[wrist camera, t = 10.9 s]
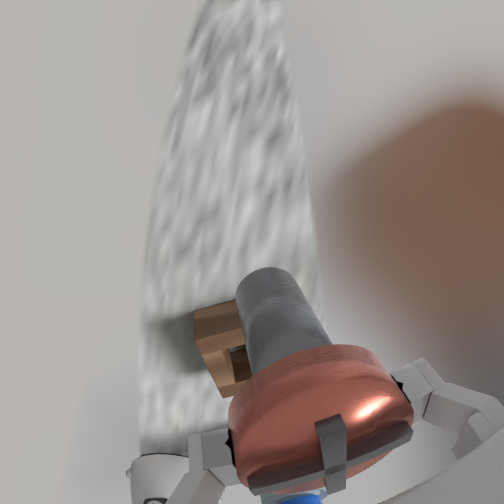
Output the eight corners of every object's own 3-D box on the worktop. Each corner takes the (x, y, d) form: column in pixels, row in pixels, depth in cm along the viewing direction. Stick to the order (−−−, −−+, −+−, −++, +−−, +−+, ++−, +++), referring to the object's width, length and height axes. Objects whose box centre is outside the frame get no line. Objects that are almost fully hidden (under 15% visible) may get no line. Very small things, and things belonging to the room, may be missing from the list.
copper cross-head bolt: (309, 233, 16) (437, 378, 6) (322, 320, 19) (405, 464, 9) (199, 265, 16) (210, 459, 6) (230, 348, 18) (262, 514, 8)
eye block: (290, 347, 36) (301, 375, 31) (219, 368, 35) (222, 398, 31) (276, 287, 32) (288, 313, 28) (194, 310, 32) (194, 340, 27)
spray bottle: (303, 430, 44) (349, 557, 22) (251, 442, 43) (281, 575, 21) (301, 400, 41) (358, 550, 18) (241, 414, 40) (275, 572, 17)
